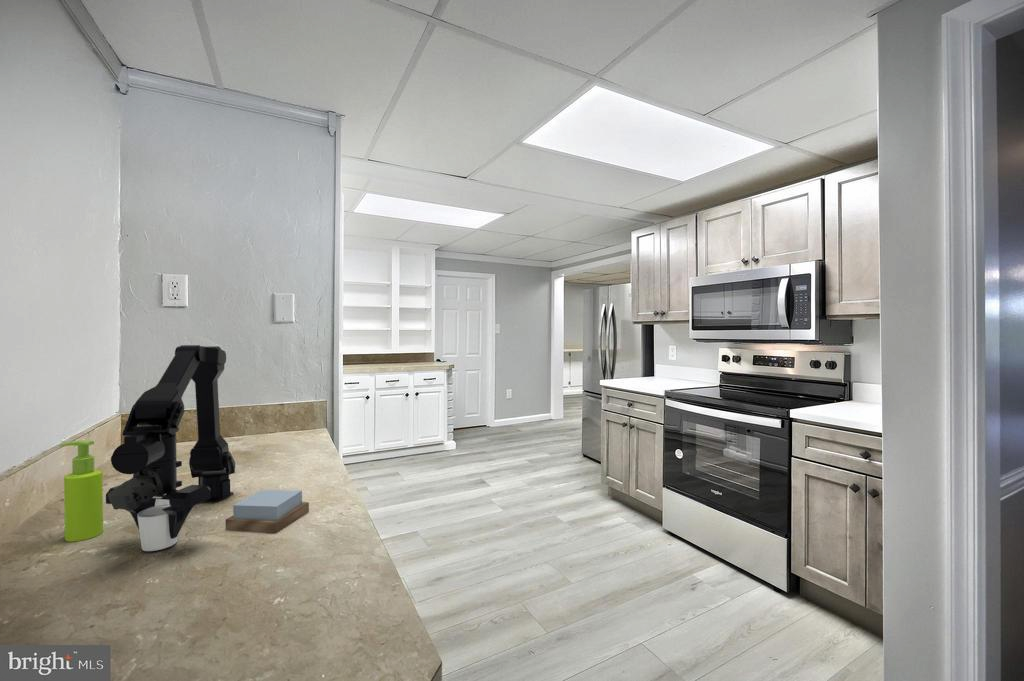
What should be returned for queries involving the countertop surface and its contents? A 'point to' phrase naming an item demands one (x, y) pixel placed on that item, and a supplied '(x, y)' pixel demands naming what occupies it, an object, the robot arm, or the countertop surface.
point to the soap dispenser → (83, 496)
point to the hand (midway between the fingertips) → (159, 536)
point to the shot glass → (155, 528)
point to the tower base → (267, 521)
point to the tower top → (267, 505)
